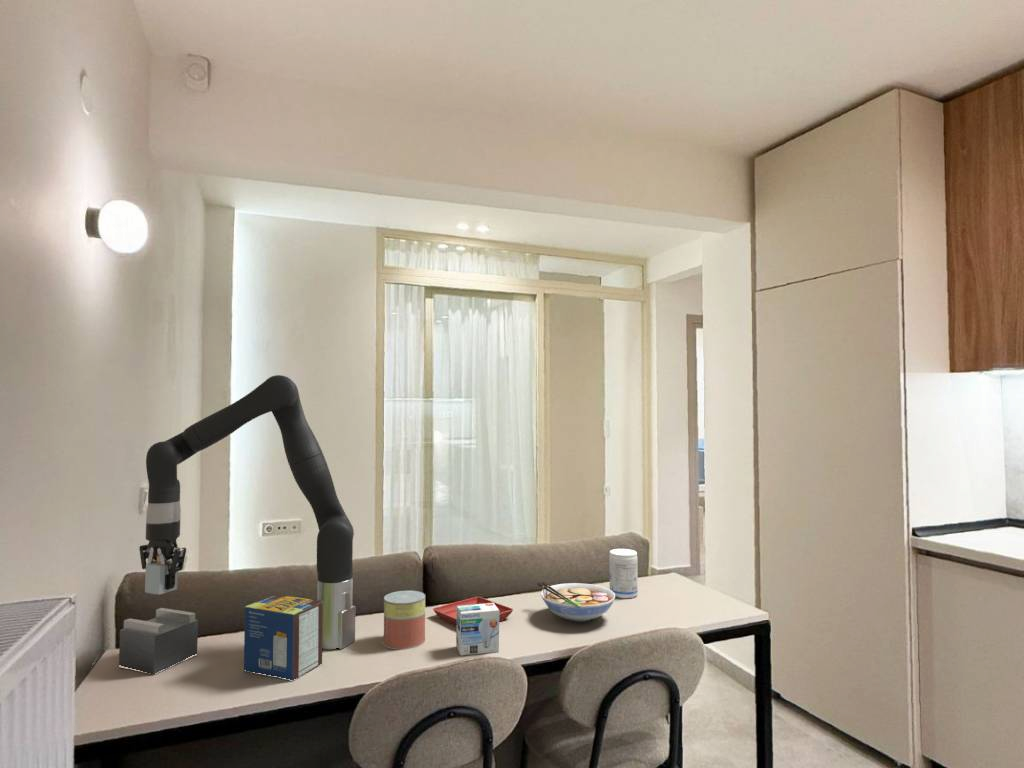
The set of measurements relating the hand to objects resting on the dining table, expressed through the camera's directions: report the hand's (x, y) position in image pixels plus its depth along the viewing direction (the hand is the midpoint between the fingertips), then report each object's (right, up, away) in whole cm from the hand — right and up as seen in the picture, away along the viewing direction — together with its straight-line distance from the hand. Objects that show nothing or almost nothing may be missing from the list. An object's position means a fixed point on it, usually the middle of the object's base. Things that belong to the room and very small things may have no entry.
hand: (161, 587), depth 147 cm
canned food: (+59, -19, +12) cm, 63 cm away
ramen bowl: (+109, -20, +29) cm, 114 cm away
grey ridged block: (0, -18, -1) cm, 18 cm away
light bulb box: (+80, -19, +6) cm, 82 cm away
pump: (0, -1, 0) cm, 1 cm away
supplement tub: (+127, -21, +52) cm, 139 cm away
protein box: (+33, -18, -5) cm, 38 cm away
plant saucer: (+77, -20, +30) cm, 85 cm away
